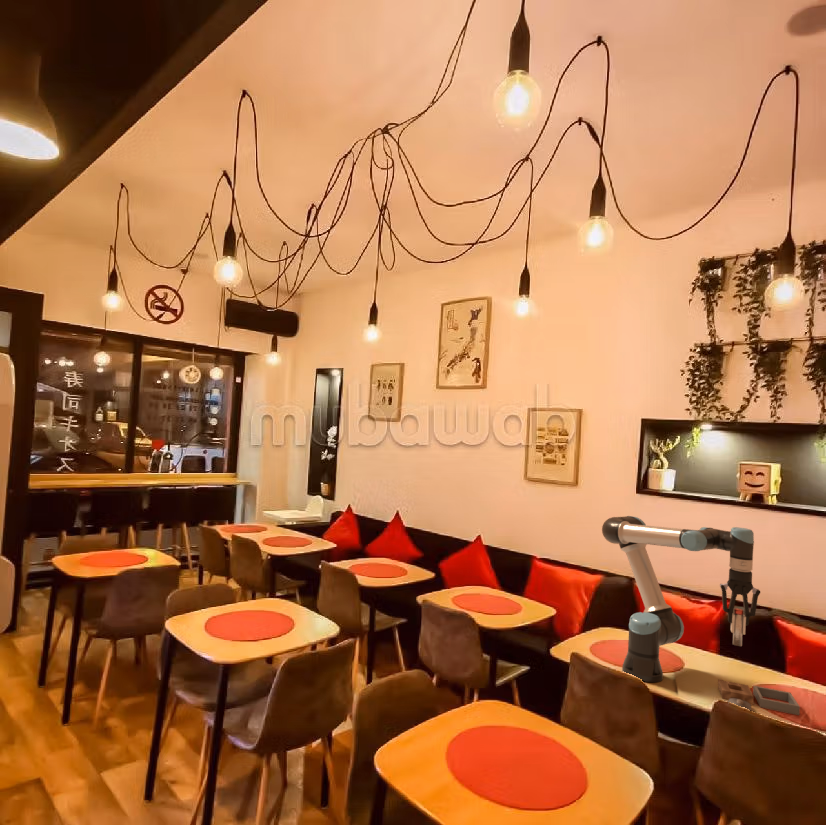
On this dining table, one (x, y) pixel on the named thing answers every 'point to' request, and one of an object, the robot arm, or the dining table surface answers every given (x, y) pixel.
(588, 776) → the dining table surface
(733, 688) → the tensioner block
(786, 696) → the tray
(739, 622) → the lock pin
